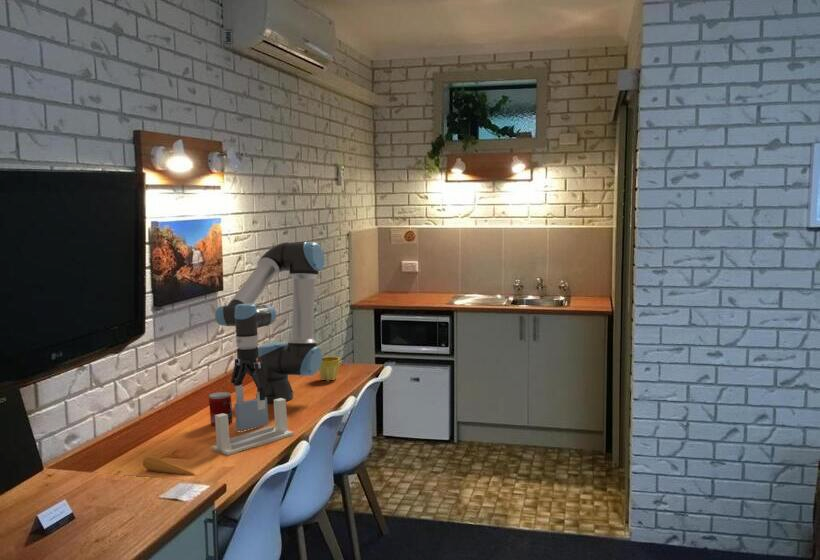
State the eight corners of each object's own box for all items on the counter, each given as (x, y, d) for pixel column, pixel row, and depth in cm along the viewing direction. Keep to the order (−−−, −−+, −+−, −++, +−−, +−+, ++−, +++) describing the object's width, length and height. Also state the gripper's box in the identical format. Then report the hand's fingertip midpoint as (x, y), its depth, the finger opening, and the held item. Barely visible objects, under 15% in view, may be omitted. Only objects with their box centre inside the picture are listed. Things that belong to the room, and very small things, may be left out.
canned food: (227, 427, 261) (225, 397, 260) (206, 426, 263) (204, 397, 262) (236, 420, 269) (234, 391, 268) (216, 420, 271) (214, 391, 269)
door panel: (264, 423, 264) (262, 396, 263) (268, 424, 263) (267, 397, 262) (236, 431, 256) (234, 403, 255) (240, 432, 254) (238, 405, 253)
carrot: (142, 471, 220) (138, 460, 217) (151, 461, 223) (148, 450, 221) (196, 487, 213) (193, 475, 211) (205, 476, 216) (202, 465, 214)
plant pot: (341, 376, 334) (340, 355, 333) (340, 381, 324) (339, 360, 323) (318, 377, 333) (317, 356, 332) (317, 383, 323) (315, 361, 322)
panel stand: (276, 429, 256) (274, 396, 255) (293, 434, 249) (291, 400, 248) (211, 449, 237) (209, 413, 236) (228, 455, 230) (225, 418, 229)
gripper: (219, 345, 262) (222, 402, 264) (258, 352, 245) (262, 413, 247) (237, 342, 268) (240, 398, 269) (277, 349, 250) (280, 409, 252)
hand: (250, 406), depth 258 cm, fingers open, 13 cm apart
